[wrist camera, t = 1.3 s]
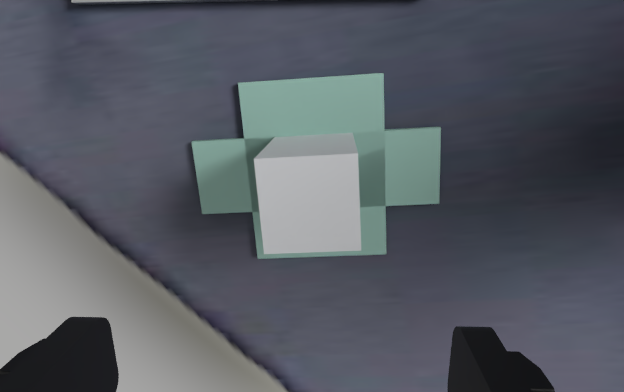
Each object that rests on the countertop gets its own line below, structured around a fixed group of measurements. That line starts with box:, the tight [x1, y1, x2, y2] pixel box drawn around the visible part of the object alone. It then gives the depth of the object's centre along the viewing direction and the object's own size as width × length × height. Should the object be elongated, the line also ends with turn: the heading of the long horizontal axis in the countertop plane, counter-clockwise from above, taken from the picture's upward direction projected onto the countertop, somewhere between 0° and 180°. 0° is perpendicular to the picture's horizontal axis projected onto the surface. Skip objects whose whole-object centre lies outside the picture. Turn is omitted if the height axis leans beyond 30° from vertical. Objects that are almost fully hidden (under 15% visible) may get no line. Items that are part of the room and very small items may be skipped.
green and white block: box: [192, 73, 441, 259], centre depth 24 cm, size 16×12×8 cm
